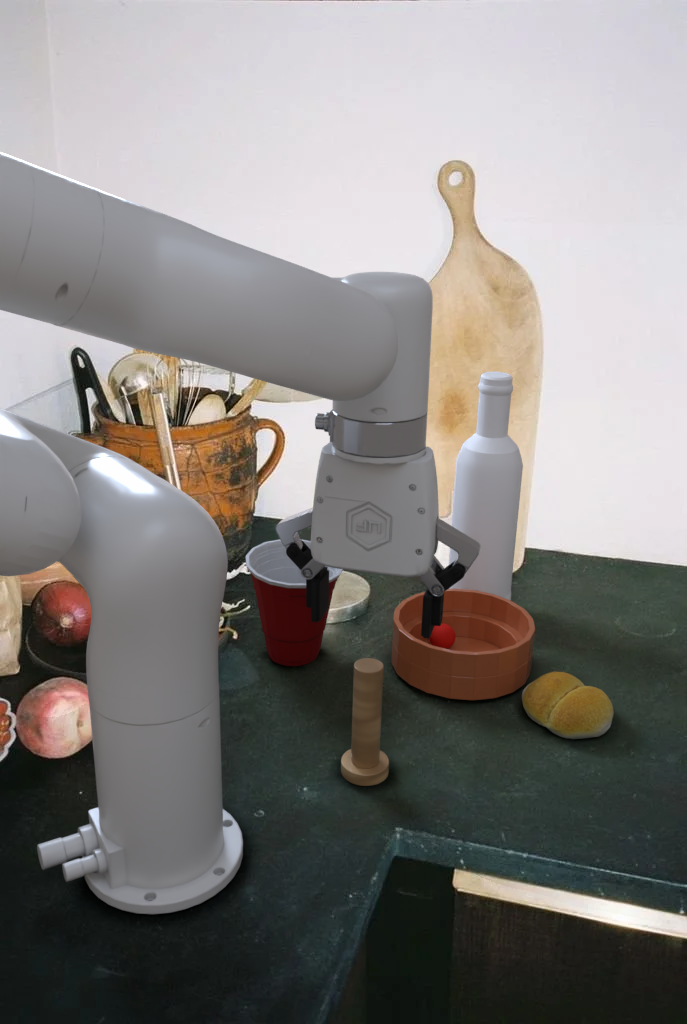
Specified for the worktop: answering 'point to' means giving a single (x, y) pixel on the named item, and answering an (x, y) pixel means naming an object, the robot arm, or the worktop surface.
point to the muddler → (366, 727)
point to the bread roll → (568, 706)
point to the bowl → (465, 646)
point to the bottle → (489, 490)
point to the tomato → (442, 636)
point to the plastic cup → (286, 604)
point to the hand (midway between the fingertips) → (373, 623)
